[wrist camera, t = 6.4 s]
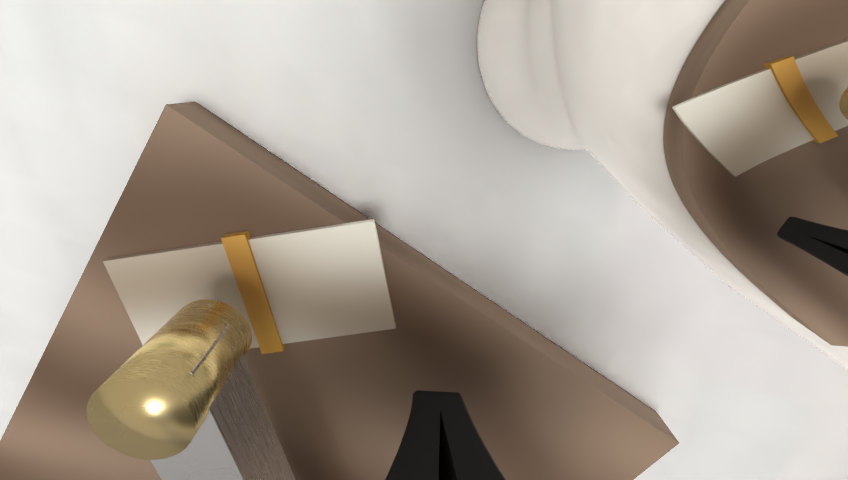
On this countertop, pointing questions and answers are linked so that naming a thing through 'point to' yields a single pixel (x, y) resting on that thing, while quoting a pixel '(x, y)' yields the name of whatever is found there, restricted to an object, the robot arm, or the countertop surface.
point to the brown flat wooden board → (310, 329)
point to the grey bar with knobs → (191, 402)
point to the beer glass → (701, 129)
